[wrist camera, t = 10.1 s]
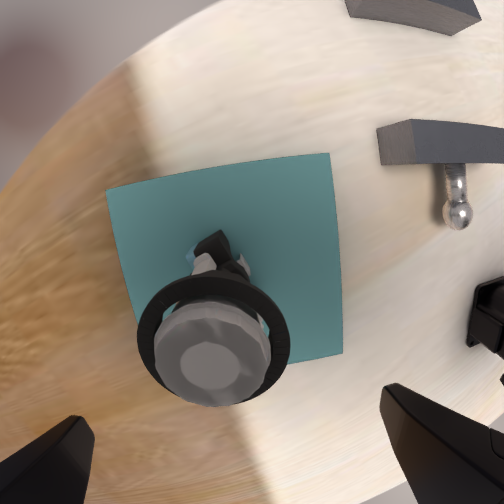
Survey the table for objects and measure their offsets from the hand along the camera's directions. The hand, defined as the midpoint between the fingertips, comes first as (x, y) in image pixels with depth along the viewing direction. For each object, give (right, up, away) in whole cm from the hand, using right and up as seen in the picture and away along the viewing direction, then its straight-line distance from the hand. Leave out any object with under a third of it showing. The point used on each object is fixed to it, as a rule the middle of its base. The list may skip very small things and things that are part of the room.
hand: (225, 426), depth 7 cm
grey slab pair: (+14, +16, +10) cm, 23 cm away
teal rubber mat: (-1, +3, +12) cm, 13 cm away
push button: (-1, +3, +12) cm, 12 cm away
